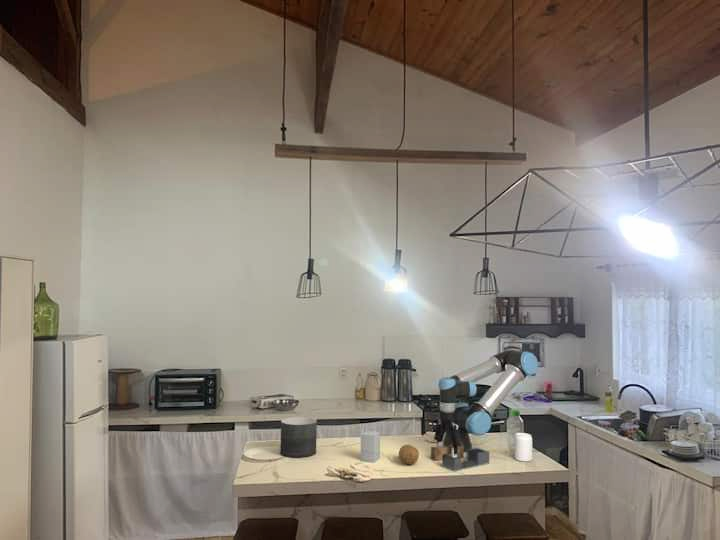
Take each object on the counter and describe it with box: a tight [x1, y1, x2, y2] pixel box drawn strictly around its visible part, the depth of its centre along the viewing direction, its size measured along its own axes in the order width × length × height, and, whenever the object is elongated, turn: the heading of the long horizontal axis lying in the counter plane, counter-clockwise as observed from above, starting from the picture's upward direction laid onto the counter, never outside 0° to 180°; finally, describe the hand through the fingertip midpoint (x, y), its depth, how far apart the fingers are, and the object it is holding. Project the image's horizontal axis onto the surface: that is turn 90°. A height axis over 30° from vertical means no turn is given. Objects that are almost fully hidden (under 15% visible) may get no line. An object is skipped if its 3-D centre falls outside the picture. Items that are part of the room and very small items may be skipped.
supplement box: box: [360, 430, 381, 463], centre depth 254 cm, size 7×7×13 cm
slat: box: [430, 445, 465, 462], centre depth 257 cm, size 16×4×6 cm, turn 112°
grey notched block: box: [441, 447, 490, 473], centre depth 247 cm, size 22×8×6 cm, turn 124°
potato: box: [398, 444, 420, 465], centre depth 249 cm, size 10×14×8 cm
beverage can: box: [514, 432, 533, 463], centre depth 256 cm, size 8×8×12 cm
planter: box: [280, 416, 318, 459], centre depth 264 cm, size 18×18×16 cm
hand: (447, 458), depth 257 cm, fingers open, 9 cm apart
